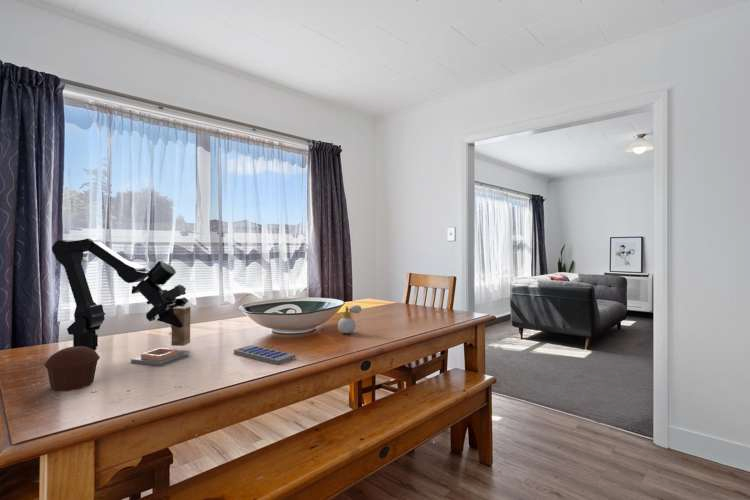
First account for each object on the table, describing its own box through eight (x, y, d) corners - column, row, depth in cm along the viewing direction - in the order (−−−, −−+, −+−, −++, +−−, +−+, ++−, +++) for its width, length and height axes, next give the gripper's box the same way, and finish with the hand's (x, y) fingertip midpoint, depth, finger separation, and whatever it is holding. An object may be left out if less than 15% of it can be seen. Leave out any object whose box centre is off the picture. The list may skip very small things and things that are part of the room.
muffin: (54, 397, 95) (54, 356, 95) (37, 387, 101) (36, 349, 101) (107, 382, 105) (107, 346, 105) (89, 375, 111) (89, 340, 111)
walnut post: (171, 345, 135) (171, 308, 135) (177, 342, 139) (178, 306, 139) (184, 345, 135) (184, 308, 135) (190, 342, 139) (190, 306, 139)
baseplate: (131, 362, 123) (131, 354, 123) (159, 353, 134) (159, 345, 134) (160, 366, 120) (160, 358, 120) (187, 356, 130) (187, 349, 130)
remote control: (277, 366, 123) (277, 359, 123) (231, 354, 135) (231, 348, 134) (295, 360, 129) (295, 353, 129) (249, 349, 141) (249, 343, 141)
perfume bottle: (334, 332, 167) (334, 305, 167) (353, 329, 173) (353, 303, 172) (343, 336, 161) (344, 307, 161) (363, 333, 167) (363, 305, 167)
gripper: (155, 280, 127) (188, 314, 128) (183, 275, 146) (212, 305, 146) (131, 304, 127) (164, 338, 128) (162, 296, 146) (191, 325, 146)
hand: (185, 325), depth 137 cm, fingers closed on walnut post, 4 cm apart
